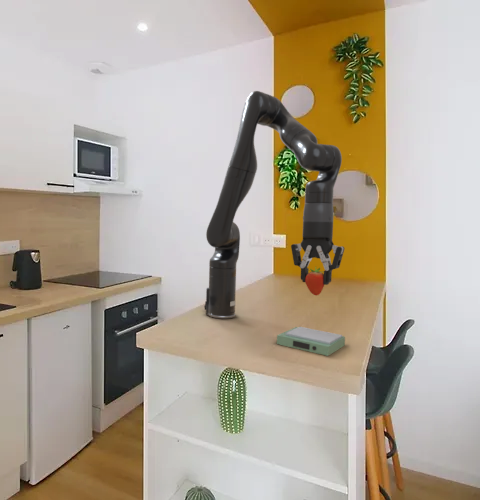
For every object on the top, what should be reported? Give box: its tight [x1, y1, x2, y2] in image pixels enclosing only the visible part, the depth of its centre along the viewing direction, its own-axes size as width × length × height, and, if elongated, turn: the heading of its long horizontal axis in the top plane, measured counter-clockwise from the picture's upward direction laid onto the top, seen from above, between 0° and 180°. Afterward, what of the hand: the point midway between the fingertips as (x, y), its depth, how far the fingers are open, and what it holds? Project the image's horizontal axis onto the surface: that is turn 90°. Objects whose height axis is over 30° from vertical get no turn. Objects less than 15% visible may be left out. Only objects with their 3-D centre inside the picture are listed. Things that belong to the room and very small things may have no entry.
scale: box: [276, 326, 346, 357], centre depth 114 cm, size 14×12×3 cm
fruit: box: [304, 267, 325, 296], centre depth 113 cm, size 5×5×8 cm
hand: (315, 282), depth 113 cm, fingers closed on fruit, 5 cm apart
